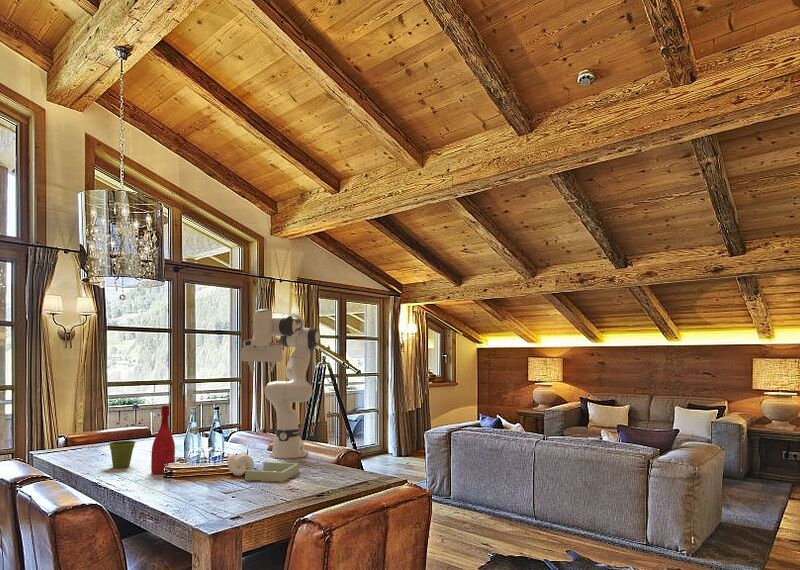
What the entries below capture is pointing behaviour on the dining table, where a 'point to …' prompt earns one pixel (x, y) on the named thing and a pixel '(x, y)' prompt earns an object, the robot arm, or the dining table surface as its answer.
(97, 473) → the dining table surface
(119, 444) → the plant pot
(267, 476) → the frame
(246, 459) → the cream lumpy rounded piece
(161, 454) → the wine bottle
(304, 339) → the robot arm
